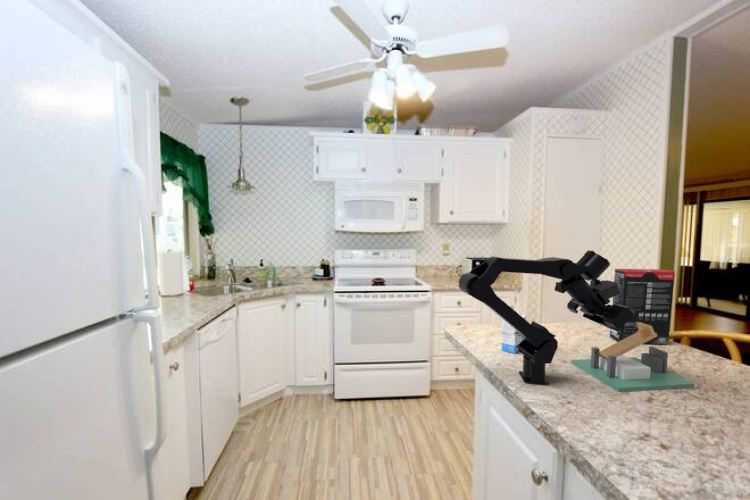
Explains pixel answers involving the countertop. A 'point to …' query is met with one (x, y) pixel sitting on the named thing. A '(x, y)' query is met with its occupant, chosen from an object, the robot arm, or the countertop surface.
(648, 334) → the strip
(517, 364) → the countertop surface
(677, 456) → the countertop surface
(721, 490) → the countertop surface
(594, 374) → the socket board
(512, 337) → the ink box
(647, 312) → the graphics card box
